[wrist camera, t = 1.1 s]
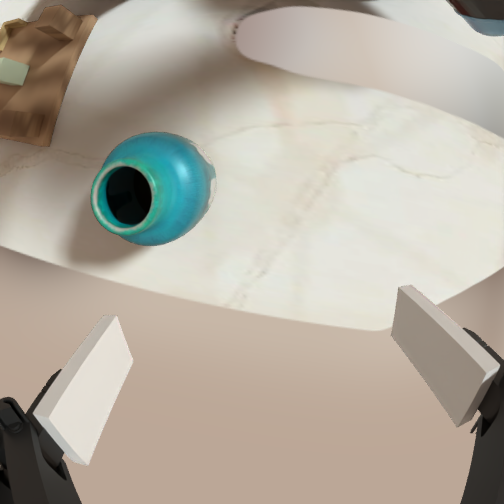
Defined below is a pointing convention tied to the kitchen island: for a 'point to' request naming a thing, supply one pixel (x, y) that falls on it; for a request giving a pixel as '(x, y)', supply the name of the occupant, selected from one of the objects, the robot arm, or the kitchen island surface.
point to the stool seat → (40, 71)
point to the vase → (153, 188)
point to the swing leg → (12, 72)
